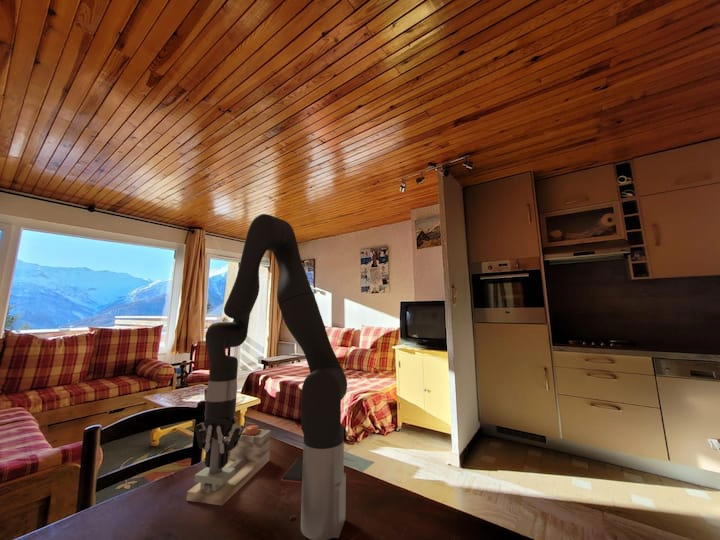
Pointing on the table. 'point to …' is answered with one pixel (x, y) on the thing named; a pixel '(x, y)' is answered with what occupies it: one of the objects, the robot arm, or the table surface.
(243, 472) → the rail base
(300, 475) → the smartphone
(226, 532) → the table surface
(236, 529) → the table surface
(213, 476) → the carriage
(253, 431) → the button
